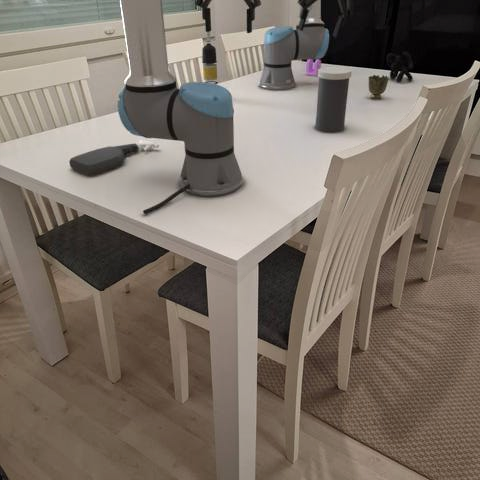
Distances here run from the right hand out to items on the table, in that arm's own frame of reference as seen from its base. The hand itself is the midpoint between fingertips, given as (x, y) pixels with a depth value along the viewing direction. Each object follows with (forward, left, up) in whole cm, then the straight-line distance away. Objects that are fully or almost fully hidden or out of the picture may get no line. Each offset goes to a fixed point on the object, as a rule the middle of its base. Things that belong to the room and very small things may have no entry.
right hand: (317, 33), depth 154 cm
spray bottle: (+36, -71, -25) cm, 83 cm away
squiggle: (-29, +52, -25) cm, 65 cm away
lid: (+25, -4, -7) cm, 27 cm away
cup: (-4, +28, -25) cm, 38 cm away
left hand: (+9, -33, +3) cm, 34 cm away
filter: (-22, -35, -25) cm, 48 cm away
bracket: (-55, +23, -25) cm, 64 cm away
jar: (+25, -4, -25) cm, 36 cm away
